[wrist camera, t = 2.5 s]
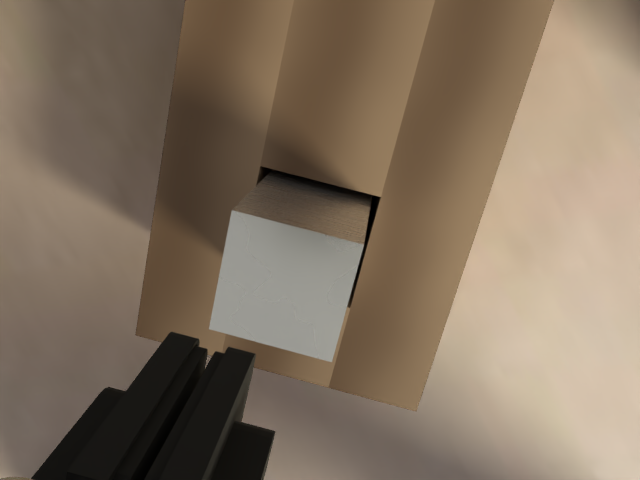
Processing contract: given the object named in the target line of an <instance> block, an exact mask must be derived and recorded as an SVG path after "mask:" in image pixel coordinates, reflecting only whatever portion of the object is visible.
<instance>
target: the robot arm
mask: <svg viewBox="0 0 640 480" xmlns="http://www.w3.org/2000/svg"><path fill="white" fill-rule="evenodd" d="M199 343H200V340H199V339H198V338H194V337H190V336H187V335H183V334H179V333H175V332H170V333H169V334H168V335H167V337H166V338H165V339H164V341H163V342H162V343H161V345H160V346H159V348H158V349H157V350H156V352H155V353H154V354H153V356H152V357H151V358H150V360H149V361H148V362H147V364H146V365H145V366H144V368H143V369H142V371H141V372H140V373H139V375H138V376H137V377H136V379H135V380H134V381H133V383H132V384H131V385H130V387H129V388H128V389H127V391H122V390H118V389H114V388H110V387H108V388H105V389H104V390H103V391H102V392H101V393H100V394H99V395H98V397H97V398H96V399H95V400H94V402H93V403H92V404H91V405H90V406H89V408H88V409H87V410H86V411H85V413H84V414H83V415H82V416H81V418H80V419H79V420H78V421H77V423H76V424H75V425H74V426H73V427H72V429H71V430H70V431H69V432H68V434H67V435H66V436H65V437H64V439H63V440H62V441H61V442H60V444H59V445H58V446H57V447H56V449H55V450H54V451H53V452H52V453H51V455H50V456H49V457H48V458H47V460H46V461H45V462H44V463H43V465H42V466H41V467H40V468H39V470H38V471H37V472H36V473H35V475H34V476H33V477H32V478H31V479H29V478H23V477H7V478H1V479H0V480H263V479H264V476H265V472H266V468H267V464H268V460H269V456H270V452H271V448H272V444H273V440H274V435H275V431H272V430H268V429H265V428H261V427H257V426H253V425H250V424H246V423H242V422H241V421H242V417H243V412H244V408H245V403H246V399H247V394H248V390H249V385H250V381H251V376H252V372H253V367H254V363H255V357H256V354H255V353H251V352H248V351H244V350H240V349H236V348H232V347H228V348H227V349H226V351H225V353H221V352H218V351H215V352H214V354H213V356H212V358H211V359H210V361H209V363H208V365H207V367H206V368H205V365H206V359H207V354H208V349H206V348H202V347H199Z"/></svg>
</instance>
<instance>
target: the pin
mask: <svg viewBox="0 0 640 480" xmlns="http://www.w3.org/2000/svg"><path fill="white" fill-rule="evenodd" d="M371 199H372V195H371V194H367V193H363V192H359V191H355V190H351V189H347V188H343V187H340V186H336V185H332V184H328V183H324V182H320V181H316V180H312V179H309V178H305V177H301V176H297V175H293V174H289V173H285V172H281V171H278V170H274V169H273V170H272V171H271V172H270V173H269V174H268V175H267V176H266V177H265V178H264V179H263V180H262V181H261V182H260V183H259V184H258V185H257V186H256V187H255V188H254V189H253V190H251V191H250V192H249V193H248V194H247V195H246V196H245V197H244V198H243V199H242V200H241V201H240V202H239V203H238V204H237V205H236V206H235V207H234V208H233V209H232V212H231V217H230V222H229V227H228V232H227V237H226V243H225V248H224V253H223V258H222V263H221V269H220V274H219V279H218V284H217V289H216V294H215V300H214V305H213V310H212V315H211V320H210V326H209V329H210V330H214V331H218V332H221V333H225V334H229V335H233V336H236V337H240V338H244V339H247V340H251V341H255V342H258V343H262V344H266V345H270V346H273V347H277V348H281V349H284V350H288V351H292V352H295V353H299V354H303V355H307V356H310V357H314V358H318V359H321V360H325V361H329V362H332V360H333V356H334V353H335V349H336V345H337V342H338V338H339V334H340V331H341V327H342V323H343V320H344V316H345V312H346V309H347V305H348V301H349V298H350V294H351V290H352V287H353V283H354V280H355V276H356V272H357V269H358V265H359V261H360V258H361V254H362V250H363V247H364V242H365V236H366V229H367V223H368V217H369V211H370V205H371Z"/></svg>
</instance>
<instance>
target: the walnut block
mask: <svg viewBox="0 0 640 480" xmlns="http://www.w3.org/2000/svg"><path fill="white" fill-rule="evenodd" d="M553 2H554V0H185V7H184V13H183V20H182V27H181V33H180V40H179V47H178V53H177V60H176V67H175V74H174V80H173V87H172V94H171V100H170V107H169V114H168V120H167V127H166V134H165V141H164V147H163V154H162V161H161V167H160V174H159V181H158V188H157V194H156V201H155V208H154V214H153V221H152V228H151V234H150V241H149V248H148V255H147V261H146V268H145V275H144V281H143V288H142V295H141V302H140V308H139V315H138V322H137V328H136V335H137V336H140V337H144V338H148V339H151V340H155V341H159V342H163V341H164V339H165V338H166V337H167V335H168V334H169V333H170V332H175V333H179V334H183V335H187V336H190V337H194V338H198V339H199V340H200V343H199V347H202V348H206V349H208V354H207V355H210V356H213V354H214V352H215V351H218V352H221V353H225V351H226V349H227V348H228V347H232V348H236V349H240V350H244V351H248V352H251V353H255V354H256V357H255V363H254V368H258V369H262V370H265V371H269V372H273V373H276V374H280V375H284V376H287V377H291V378H295V379H299V380H302V381H306V382H310V383H313V384H317V385H321V386H324V387H328V388H332V389H335V390H339V391H343V392H346V393H350V394H354V395H357V396H361V397H365V398H368V399H372V400H376V401H379V402H383V403H387V404H390V405H394V406H398V407H401V408H405V409H409V410H412V411H417V408H418V405H419V402H420V399H421V396H422V393H423V390H424V387H425V384H426V381H427V378H428V375H429V372H430V369H431V366H432V363H433V360H434V357H435V354H436V351H437V348H438V345H439V342H440V339H441V336H442V333H443V330H444V327H445V324H446V321H447V318H448V315H449V312H450V309H451V306H452V303H453V300H454V297H455V294H456V291H457V288H458V285H459V282H460V279H461V276H462V273H463V270H464V267H465V264H466V261H467V259H468V256H469V253H470V250H471V247H472V244H473V241H474V238H475V235H476V232H477V229H478V226H479V223H480V220H481V217H482V214H483V211H484V208H485V205H486V202H487V199H488V196H489V193H490V190H491V187H492V184H493V181H494V178H495V175H496V172H497V169H498V166H499V163H500V160H501V157H502V154H503V151H504V148H505V145H506V142H507V139H508V136H509V133H510V130H511V127H512V124H513V121H514V118H515V115H516V112H517V109H518V106H519V103H520V101H521V98H522V95H523V92H524V89H525V86H526V83H527V80H528V77H529V74H530V71H531V68H532V65H533V62H534V59H535V56H536V53H537V50H538V47H539V44H540V41H541V38H542V35H543V32H544V29H545V26H546V23H547V20H548V17H549V14H550V11H551V8H552V5H553ZM273 169H274V170H278V171H281V172H285V173H289V174H293V175H297V176H301V177H305V178H309V179H312V180H316V181H320V182H324V183H328V184H332V185H336V186H340V187H343V188H347V189H351V190H355V191H359V192H363V193H367V194H371V195H374V199H373V202H372V206H371V210H370V213H369V217H368V223H367V229H366V236H365V242H364V247H363V250H362V254H361V258H360V261H359V265H358V269H357V272H356V276H355V280H354V283H353V287H352V290H351V294H350V298H349V301H348V305H347V309H346V312H345V316H344V320H343V323H342V327H341V331H340V334H339V338H338V342H337V345H336V349H335V353H334V356H333V360H332V362H329V361H325V360H321V359H318V358H314V357H310V356H307V355H303V354H299V353H295V352H292V351H288V350H284V349H281V348H277V347H273V346H270V345H266V344H262V343H258V342H255V341H251V340H247V339H244V338H240V337H236V336H233V335H229V334H225V333H221V332H218V331H214V330H210V329H209V326H210V320H211V315H212V310H213V305H214V300H215V294H216V289H217V284H218V279H219V274H220V269H221V263H222V258H223V253H224V248H225V243H226V237H227V232H228V227H229V222H230V217H231V212H232V209H233V208H234V207H235V206H236V205H237V204H238V203H239V202H240V201H241V200H242V199H243V198H244V197H245V196H246V195H247V194H248V193H249V192H250V191H251V190H253V189H254V188H255V187H256V186H257V185H258V184H259V183H260V182H261V181H262V180H263V179H264V178H265V177H266V176H267V175H268V174H269V173H270V172H271V171H272V170H273Z"/></svg>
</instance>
